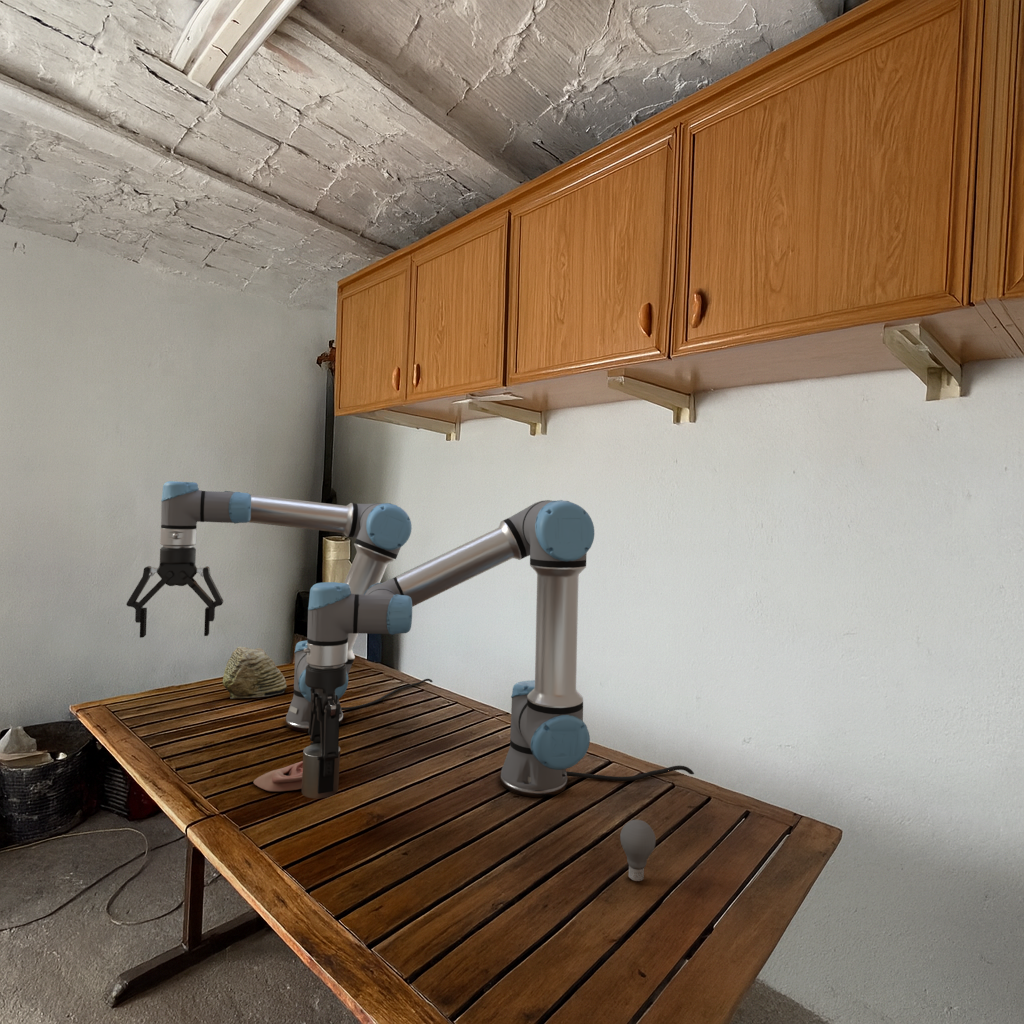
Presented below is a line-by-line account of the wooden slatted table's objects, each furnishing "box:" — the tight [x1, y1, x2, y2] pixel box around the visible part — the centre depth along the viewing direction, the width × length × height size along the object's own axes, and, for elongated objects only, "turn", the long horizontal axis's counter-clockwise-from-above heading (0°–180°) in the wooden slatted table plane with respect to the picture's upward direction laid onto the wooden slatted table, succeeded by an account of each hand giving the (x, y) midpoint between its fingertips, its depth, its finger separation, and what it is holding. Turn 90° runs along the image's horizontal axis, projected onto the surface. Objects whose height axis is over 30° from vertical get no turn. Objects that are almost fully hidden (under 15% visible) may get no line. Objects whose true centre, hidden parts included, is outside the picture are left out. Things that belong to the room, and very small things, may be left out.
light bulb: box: [619, 819, 657, 882], centre depth 109 cm, size 6×6×10 cm
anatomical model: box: [253, 760, 303, 792], centre depth 140 cm, size 13×4×12 cm
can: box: [301, 743, 341, 800], centre depth 121 cm, size 7×7×8 cm
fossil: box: [222, 646, 288, 699], centre depth 198 cm, size 9×18×15 cm, turn 132°
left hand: (175, 635), depth 150 cm, fingers open, 13 cm apart
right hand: (320, 783), depth 121 cm, fingers closed on can, 7 cm apart
